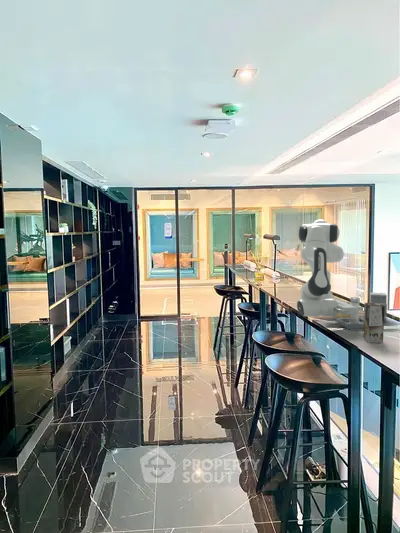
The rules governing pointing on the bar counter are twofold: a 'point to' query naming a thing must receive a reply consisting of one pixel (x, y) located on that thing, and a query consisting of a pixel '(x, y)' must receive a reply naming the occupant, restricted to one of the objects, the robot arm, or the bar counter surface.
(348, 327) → the parts tray
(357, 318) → the cylinder
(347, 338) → the bar counter surface
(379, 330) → the coffee box
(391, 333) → the bar counter surface
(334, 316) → the block
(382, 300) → the circuit breaker
